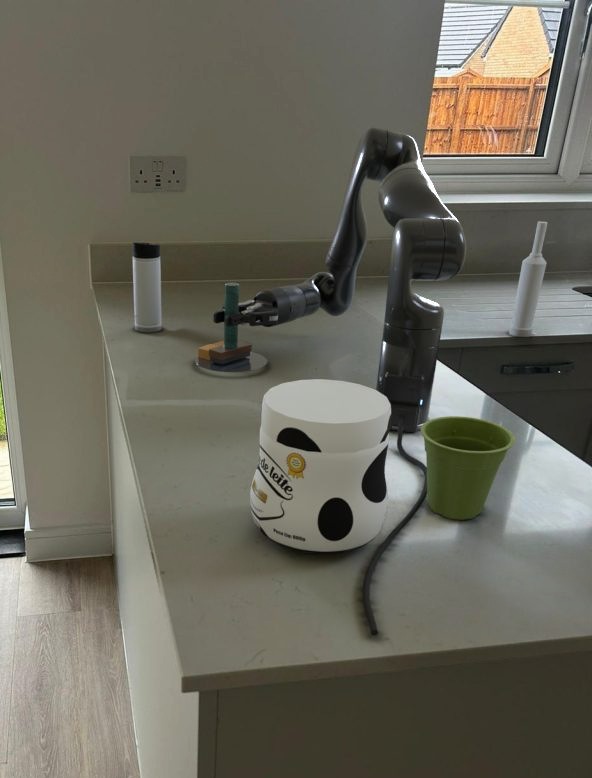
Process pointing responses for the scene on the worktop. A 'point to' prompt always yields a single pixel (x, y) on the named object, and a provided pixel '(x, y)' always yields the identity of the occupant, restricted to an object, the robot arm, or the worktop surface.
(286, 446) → the milk container
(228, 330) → the peg on stand
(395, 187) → the robot arm
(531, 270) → the bottle
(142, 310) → the travel mug
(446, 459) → the plant pot
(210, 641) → the worktop surface
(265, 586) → the worktop surface
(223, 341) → the crust
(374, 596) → the worktop surface
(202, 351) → the block
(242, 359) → the turntable plate
